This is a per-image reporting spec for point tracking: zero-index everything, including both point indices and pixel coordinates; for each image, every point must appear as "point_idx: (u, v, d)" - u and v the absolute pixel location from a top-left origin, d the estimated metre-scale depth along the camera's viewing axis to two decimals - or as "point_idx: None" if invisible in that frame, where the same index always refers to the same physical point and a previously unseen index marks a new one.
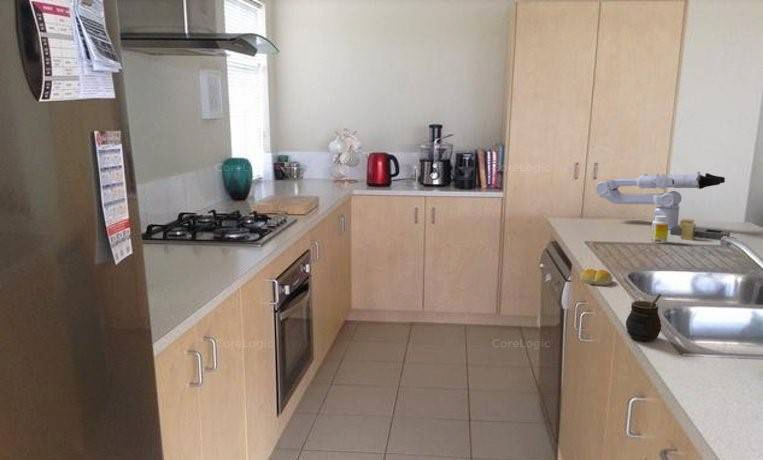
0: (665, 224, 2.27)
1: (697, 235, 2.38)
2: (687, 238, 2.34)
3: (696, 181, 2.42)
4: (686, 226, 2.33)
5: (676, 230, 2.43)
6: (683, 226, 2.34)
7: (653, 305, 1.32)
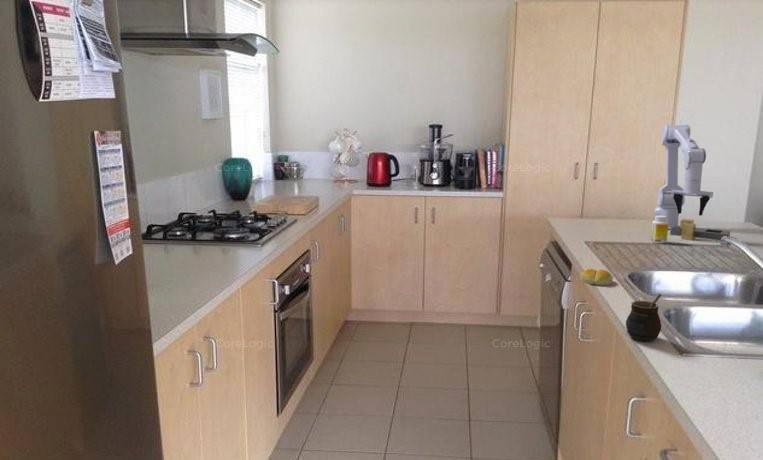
0: (665, 224, 2.27)
1: (697, 235, 2.38)
2: (687, 238, 2.34)
3: None
4: (686, 226, 2.33)
5: (676, 230, 2.43)
6: (683, 226, 2.34)
7: (653, 305, 1.32)
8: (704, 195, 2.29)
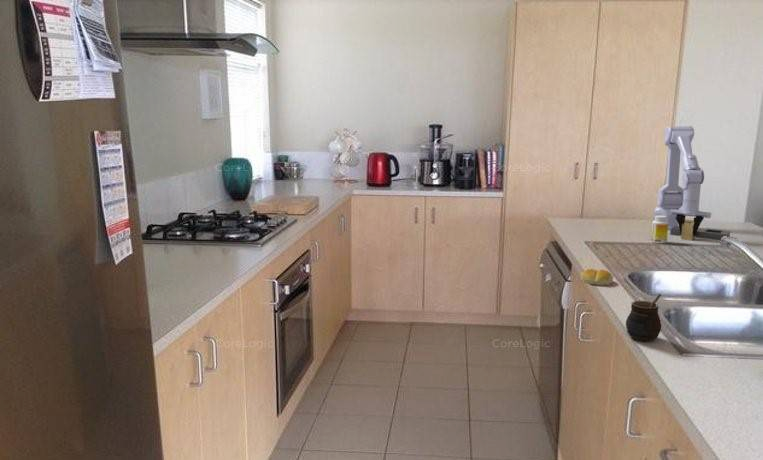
0: (665, 224, 2.27)
1: (697, 235, 2.38)
2: (687, 238, 2.34)
3: None
4: (686, 226, 2.33)
5: (676, 230, 2.43)
6: (683, 226, 2.34)
7: (653, 305, 1.32)
8: (702, 215, 2.31)
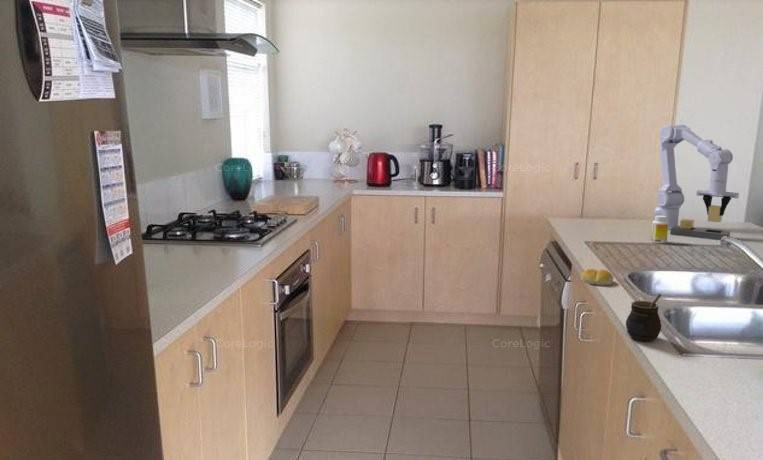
0: (665, 224, 2.27)
1: (697, 235, 2.38)
2: (714, 220, 2.34)
3: None
4: (713, 208, 2.34)
5: (676, 230, 2.43)
6: (710, 208, 2.35)
7: (653, 305, 1.32)
8: (730, 196, 2.31)
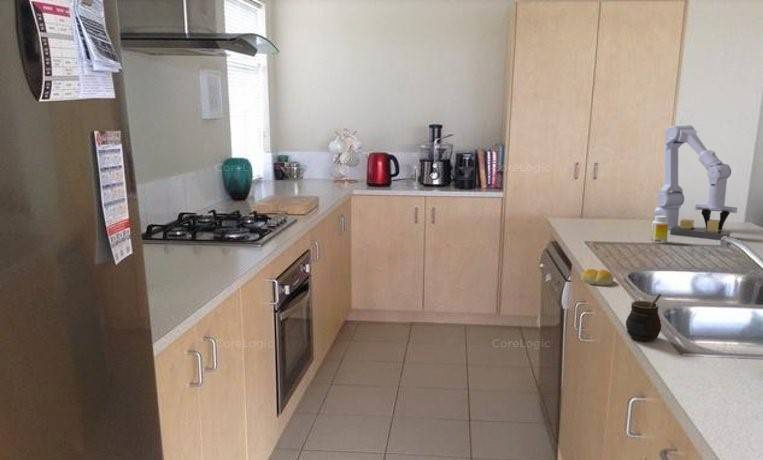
0: (665, 224, 2.27)
1: (697, 235, 2.38)
2: None
3: None
4: (711, 222, 2.35)
5: (676, 230, 2.43)
6: (708, 222, 2.36)
7: (653, 305, 1.32)
8: (728, 210, 2.32)
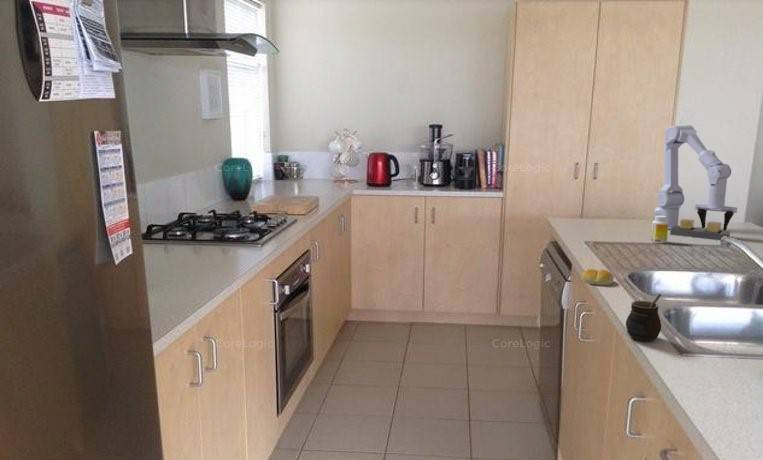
0: (665, 224, 2.27)
1: (697, 235, 2.38)
2: None
3: None
4: (711, 225, 2.35)
5: (676, 230, 2.43)
6: (708, 225, 2.36)
7: (653, 305, 1.32)
8: (728, 210, 2.32)
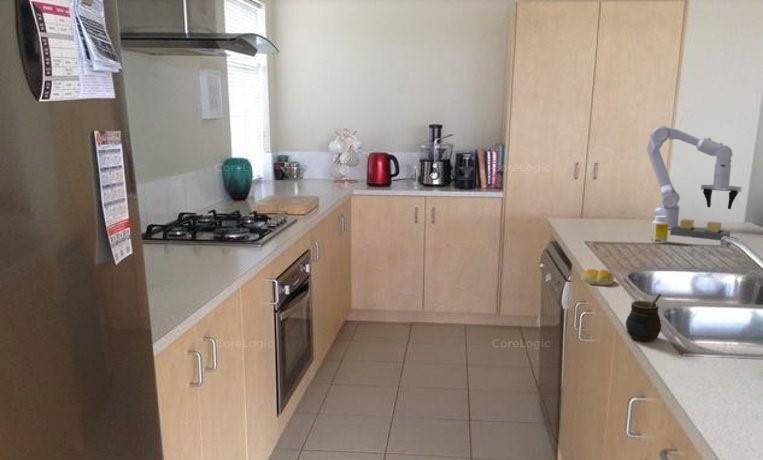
0: (665, 224, 2.27)
1: (697, 235, 2.38)
2: None
3: None
4: (711, 225, 2.35)
5: (676, 230, 2.43)
6: (708, 225, 2.36)
7: (653, 305, 1.32)
8: (733, 190, 2.43)
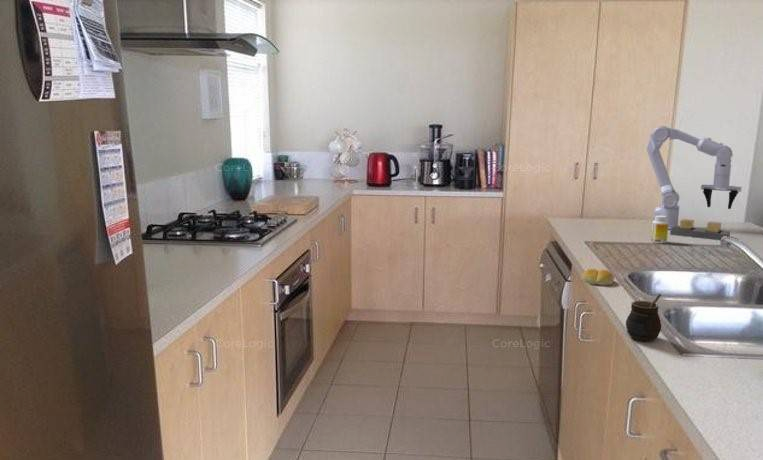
0: (665, 224, 2.27)
1: (697, 235, 2.38)
2: None
3: None
4: (711, 225, 2.35)
5: (676, 230, 2.43)
6: (708, 225, 2.36)
7: (653, 305, 1.32)
8: (733, 190, 2.43)
